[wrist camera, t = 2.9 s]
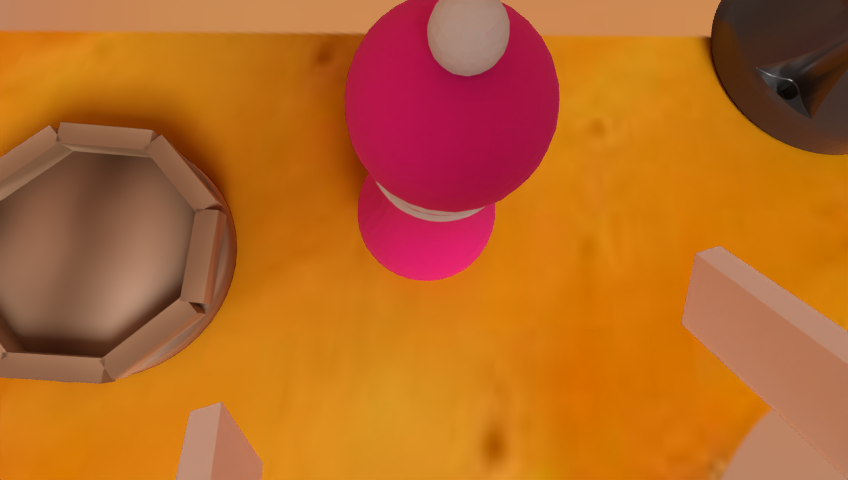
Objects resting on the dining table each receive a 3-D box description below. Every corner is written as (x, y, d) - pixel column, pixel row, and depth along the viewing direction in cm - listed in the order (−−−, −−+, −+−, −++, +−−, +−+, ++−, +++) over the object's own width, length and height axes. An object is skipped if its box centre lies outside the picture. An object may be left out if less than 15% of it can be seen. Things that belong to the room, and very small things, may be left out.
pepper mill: (373, 167, 29) (325, -172, 10) (485, 184, 29) (659, -115, 10) (354, 279, 28) (252, 146, 8) (472, 296, 28) (647, 205, 8)
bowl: (252, 155, 29) (234, 133, 26) (216, 386, 26) (192, 393, 23) (23, 136, 28) (-24, 111, 25) (-40, 370, 25) (-101, 375, 22)
